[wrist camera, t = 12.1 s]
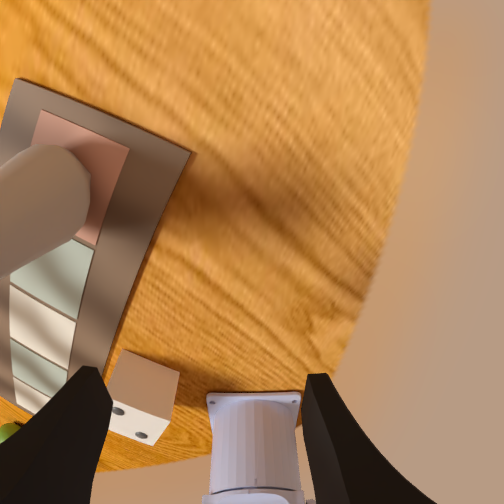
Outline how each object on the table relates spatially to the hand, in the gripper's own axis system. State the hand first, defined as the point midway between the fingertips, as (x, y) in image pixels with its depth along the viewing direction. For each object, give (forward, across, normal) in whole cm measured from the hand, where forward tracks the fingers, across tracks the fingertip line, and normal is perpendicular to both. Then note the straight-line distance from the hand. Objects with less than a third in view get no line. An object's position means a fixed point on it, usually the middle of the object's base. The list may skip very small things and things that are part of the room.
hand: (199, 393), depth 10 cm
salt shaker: (+10, +9, -5) cm, 15 cm away
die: (+10, +7, +12) cm, 17 cm away
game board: (+10, +16, +7) cm, 20 cm away
